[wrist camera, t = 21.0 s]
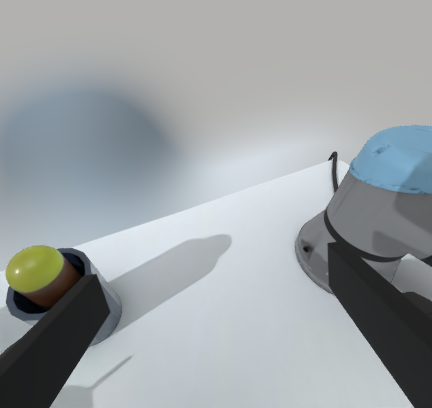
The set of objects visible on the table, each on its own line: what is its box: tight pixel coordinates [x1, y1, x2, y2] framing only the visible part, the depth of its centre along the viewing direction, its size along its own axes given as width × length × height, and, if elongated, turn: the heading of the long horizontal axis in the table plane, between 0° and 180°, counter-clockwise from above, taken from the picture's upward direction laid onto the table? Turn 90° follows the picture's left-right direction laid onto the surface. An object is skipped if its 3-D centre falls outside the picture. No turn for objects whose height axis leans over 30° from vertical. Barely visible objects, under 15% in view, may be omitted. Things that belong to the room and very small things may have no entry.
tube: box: [6, 248, 122, 347], centre depth 27 cm, size 8×8×12 cm
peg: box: [6, 245, 82, 311], centre depth 25 cm, size 4×4×16 cm
